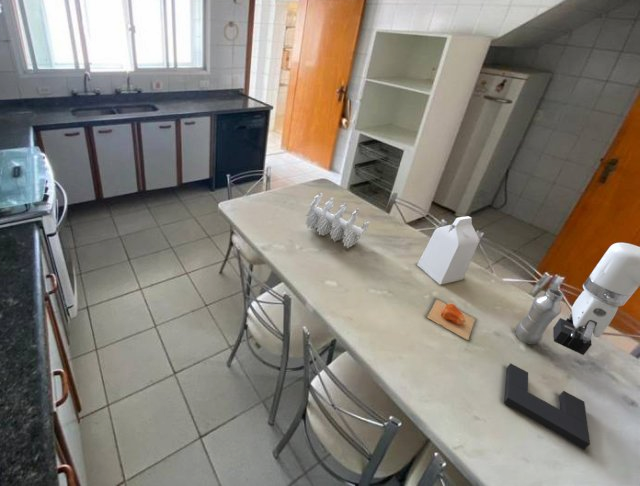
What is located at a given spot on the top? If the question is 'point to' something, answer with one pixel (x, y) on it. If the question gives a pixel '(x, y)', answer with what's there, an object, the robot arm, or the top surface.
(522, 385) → the dark grey u-shaped block
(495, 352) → the top surface
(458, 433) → the top surface
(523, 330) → the plastic bottle
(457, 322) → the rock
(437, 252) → the milk
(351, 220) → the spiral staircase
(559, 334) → the dark grey square block
